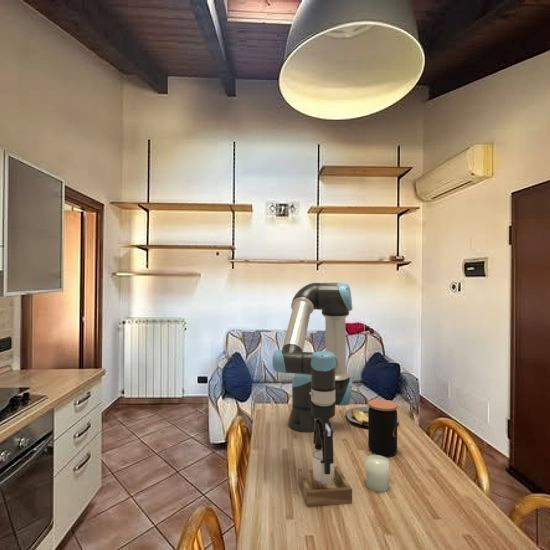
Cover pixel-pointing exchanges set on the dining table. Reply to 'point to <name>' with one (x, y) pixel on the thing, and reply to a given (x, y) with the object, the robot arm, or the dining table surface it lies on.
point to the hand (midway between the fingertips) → (322, 476)
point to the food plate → (359, 415)
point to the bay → (326, 491)
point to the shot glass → (318, 465)
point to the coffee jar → (382, 427)
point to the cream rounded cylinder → (377, 473)
